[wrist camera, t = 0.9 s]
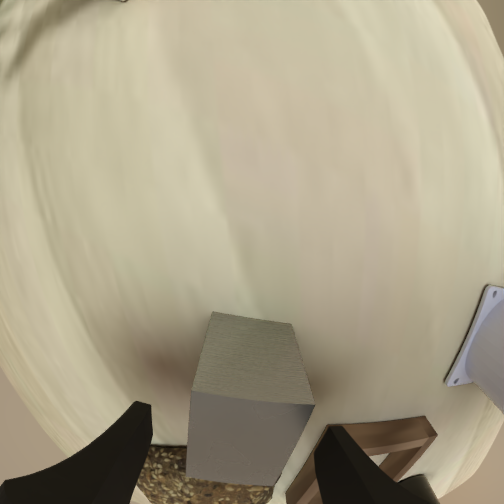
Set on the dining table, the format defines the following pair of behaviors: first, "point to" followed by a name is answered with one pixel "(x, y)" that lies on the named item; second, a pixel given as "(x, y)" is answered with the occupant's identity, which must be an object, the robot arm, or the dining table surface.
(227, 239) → the dining table surface
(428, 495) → the supplement bottle
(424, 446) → the wooden frame
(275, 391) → the steel bracket block
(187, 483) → the bread roll
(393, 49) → the dining table surface
